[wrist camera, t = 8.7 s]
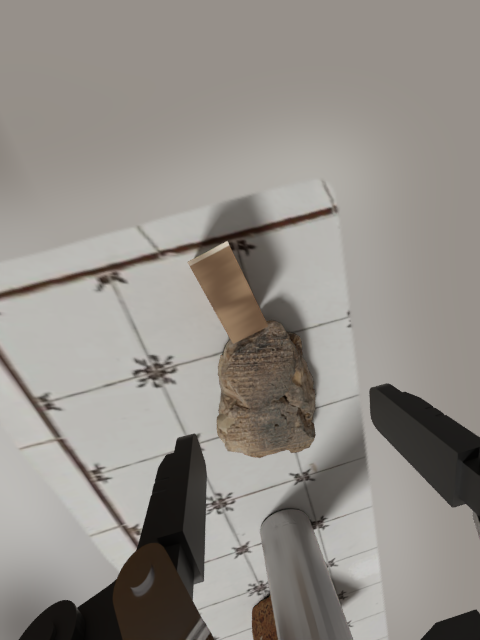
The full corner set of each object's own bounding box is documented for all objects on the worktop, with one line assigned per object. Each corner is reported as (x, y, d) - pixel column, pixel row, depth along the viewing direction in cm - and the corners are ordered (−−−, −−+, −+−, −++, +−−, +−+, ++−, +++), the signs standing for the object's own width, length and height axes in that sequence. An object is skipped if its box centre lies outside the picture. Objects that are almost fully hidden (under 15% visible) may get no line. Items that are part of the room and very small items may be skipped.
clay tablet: (209, 317, 28) (218, 446, 33) (210, 329, 23) (220, 476, 29) (315, 310, 30) (307, 433, 35) (335, 320, 25) (322, 460, 30)
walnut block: (257, 311, 28) (224, 244, 25) (268, 326, 22) (227, 241, 20) (229, 325, 28) (193, 260, 25) (233, 344, 22) (187, 262, 20)
